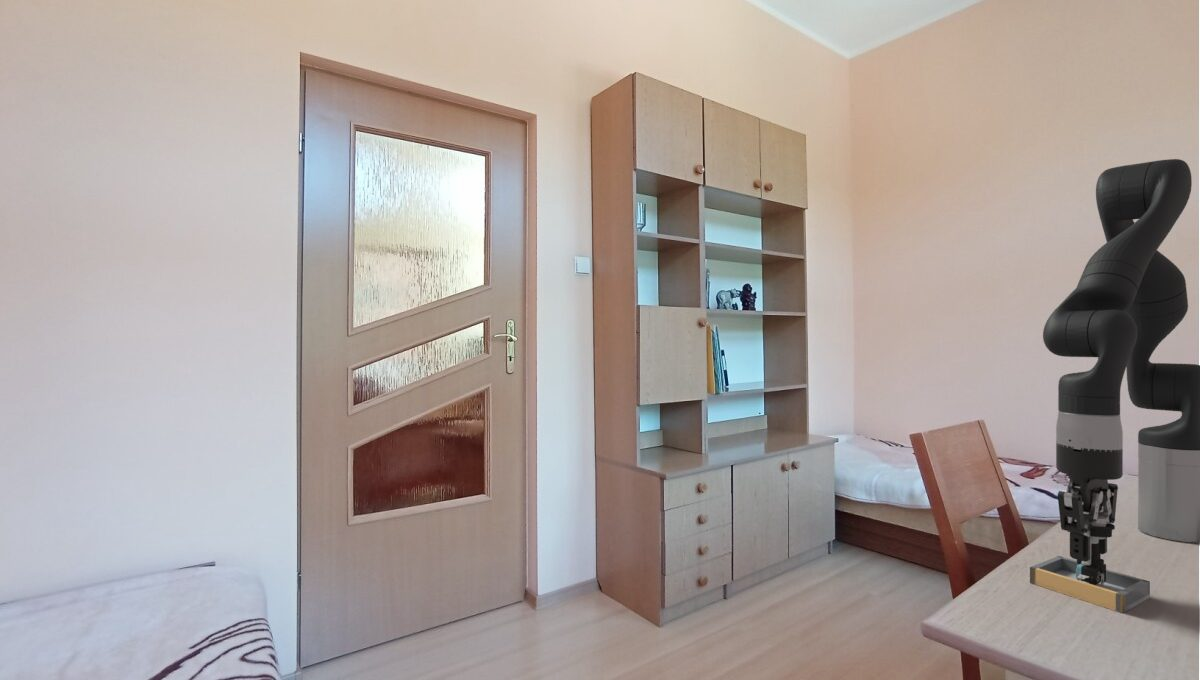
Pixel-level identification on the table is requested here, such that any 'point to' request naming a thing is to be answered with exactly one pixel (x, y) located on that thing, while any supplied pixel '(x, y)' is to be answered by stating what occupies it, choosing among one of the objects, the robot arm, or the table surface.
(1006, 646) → the table surface
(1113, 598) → the tray
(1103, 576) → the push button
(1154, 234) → the robot arm
